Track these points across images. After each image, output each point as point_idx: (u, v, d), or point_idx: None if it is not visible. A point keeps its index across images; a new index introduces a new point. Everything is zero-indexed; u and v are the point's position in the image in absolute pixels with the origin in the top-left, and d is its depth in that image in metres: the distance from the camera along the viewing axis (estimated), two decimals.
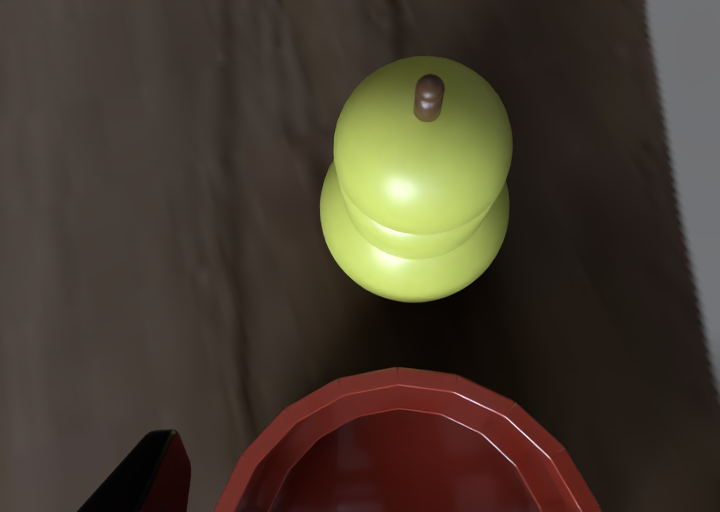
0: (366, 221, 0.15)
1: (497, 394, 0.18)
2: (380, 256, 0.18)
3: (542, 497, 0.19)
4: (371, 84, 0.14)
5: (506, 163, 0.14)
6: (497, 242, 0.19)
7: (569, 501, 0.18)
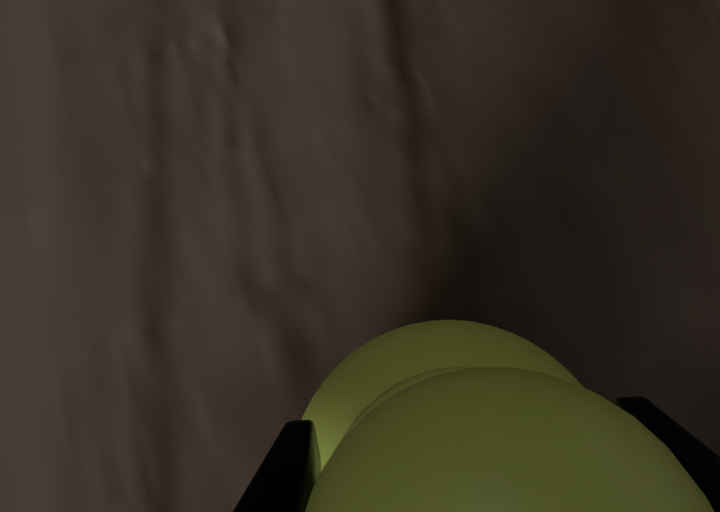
0: None
1: None
2: None
3: None
4: None
5: None
6: None
7: None
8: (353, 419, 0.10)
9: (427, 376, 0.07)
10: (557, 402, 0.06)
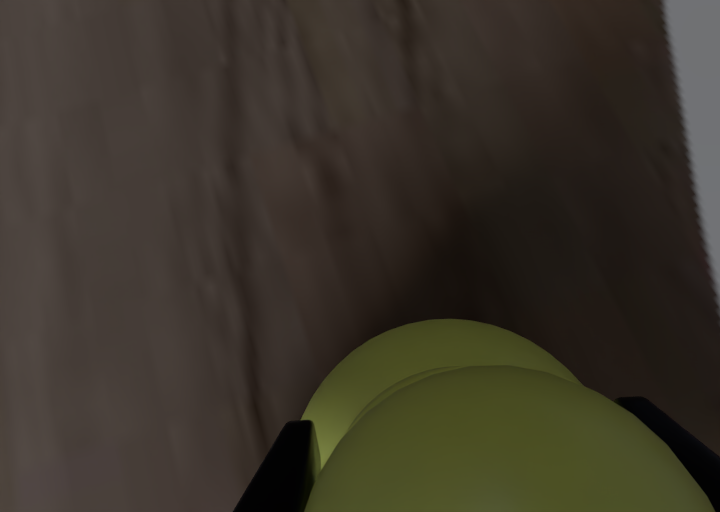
0: None
1: None
2: None
3: None
4: None
5: None
6: None
7: None
8: (353, 418, 0.10)
9: (427, 374, 0.07)
10: (557, 400, 0.06)
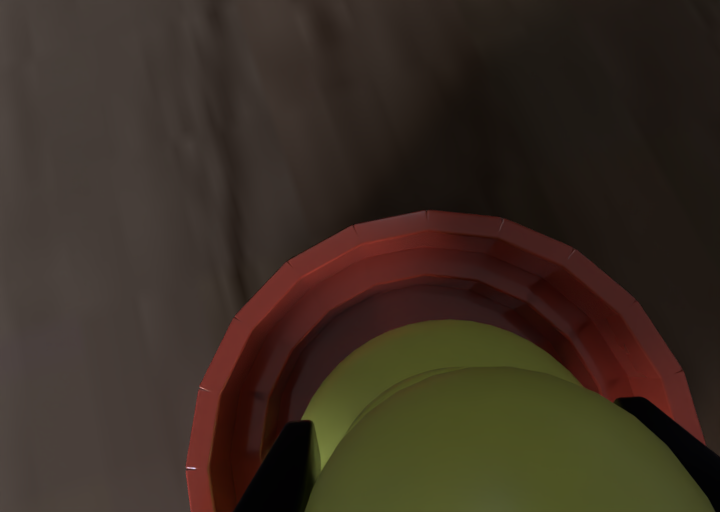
0: None
1: (552, 239, 0.14)
2: None
3: (602, 375, 0.16)
4: None
5: None
6: None
7: (640, 372, 0.15)
8: (353, 419, 0.10)
9: (427, 376, 0.07)
10: (557, 402, 0.06)
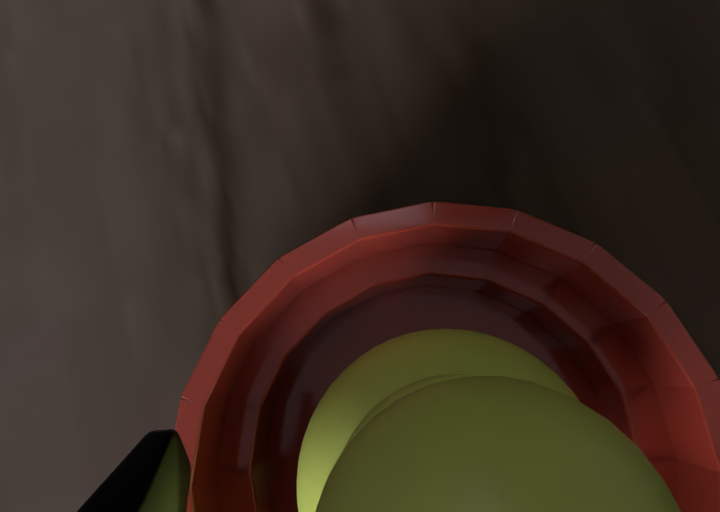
0: None
1: (571, 233, 0.13)
2: None
3: (626, 383, 0.14)
4: None
5: None
6: None
7: (669, 380, 0.13)
8: (358, 422, 0.11)
9: (426, 384, 0.08)
10: (539, 408, 0.06)
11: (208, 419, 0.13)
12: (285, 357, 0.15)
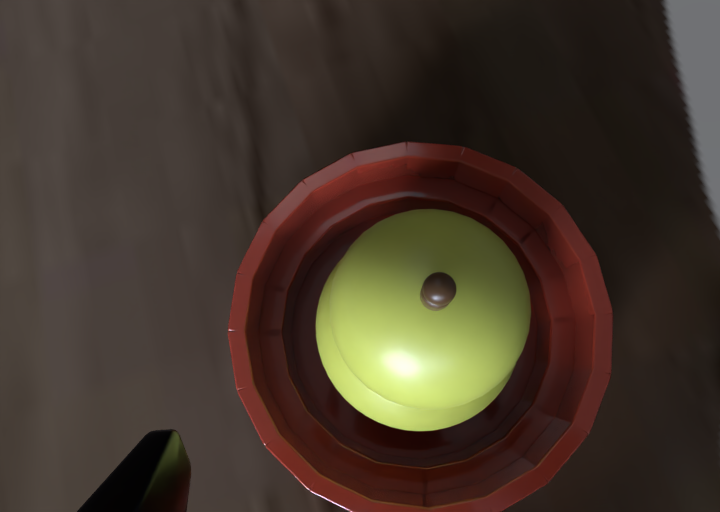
0: None
1: (500, 161, 0.19)
2: (382, 397, 0.16)
3: (543, 269, 0.20)
4: (370, 254, 0.12)
5: (524, 336, 0.12)
6: (510, 371, 0.17)
7: (568, 261, 0.19)
8: None
9: None
10: (447, 213, 0.13)
11: (254, 289, 0.19)
12: (305, 256, 0.21)
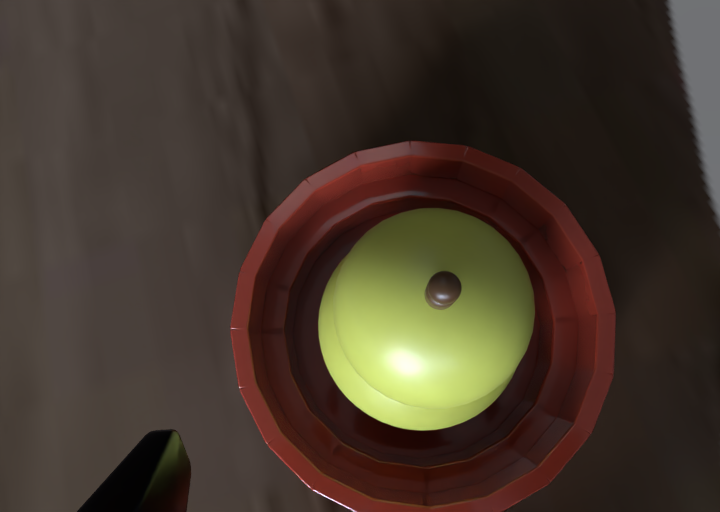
0: None
1: (503, 161, 0.19)
2: (385, 396, 0.16)
3: (545, 269, 0.20)
4: (375, 252, 0.12)
5: (529, 336, 0.12)
6: (512, 371, 0.17)
7: (571, 261, 0.19)
8: None
9: None
10: (452, 212, 0.13)
11: (257, 288, 0.19)
12: (307, 254, 0.21)
